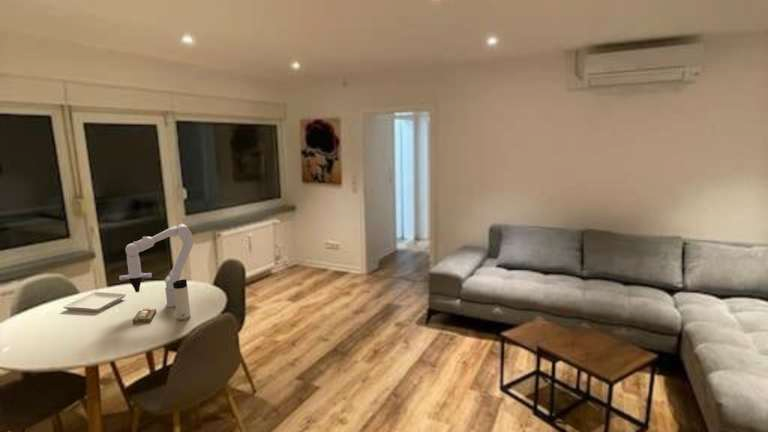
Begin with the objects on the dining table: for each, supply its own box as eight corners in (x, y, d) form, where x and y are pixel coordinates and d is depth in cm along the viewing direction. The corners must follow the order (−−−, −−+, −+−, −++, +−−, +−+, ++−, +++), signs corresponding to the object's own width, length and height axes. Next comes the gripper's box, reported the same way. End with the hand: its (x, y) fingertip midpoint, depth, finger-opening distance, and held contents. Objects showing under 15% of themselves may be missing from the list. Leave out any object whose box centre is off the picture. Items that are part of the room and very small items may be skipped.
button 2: (150, 313, 221) (149, 307, 221) (149, 315, 219) (148, 309, 218) (144, 313, 221) (143, 308, 220) (142, 316, 218) (141, 310, 217)
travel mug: (185, 321, 212) (181, 282, 208) (174, 320, 213) (169, 281, 210) (193, 316, 218) (189, 278, 214) (182, 315, 219) (178, 277, 216)
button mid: (148, 316, 218) (148, 310, 217) (147, 318, 215) (146, 312, 214) (142, 316, 217) (141, 311, 217) (140, 319, 214) (140, 313, 214)
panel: (156, 312, 223) (155, 309, 223) (150, 322, 212) (150, 318, 211) (139, 314, 221) (138, 310, 220) (132, 324, 209) (132, 320, 209)
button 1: (147, 319, 214) (146, 313, 214) (145, 321, 211) (144, 315, 211) (140, 319, 213) (139, 314, 213) (138, 322, 211) (138, 316, 210)
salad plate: (98, 314, 222) (97, 308, 222) (62, 312, 226) (61, 306, 225) (128, 299, 243) (127, 293, 242) (95, 297, 246) (94, 291, 246)
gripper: (151, 263, 227) (154, 287, 230) (120, 265, 223) (124, 290, 226) (148, 267, 221) (151, 292, 223) (116, 269, 217) (120, 295, 219)
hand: (137, 291), depth 224 cm, fingers closed
